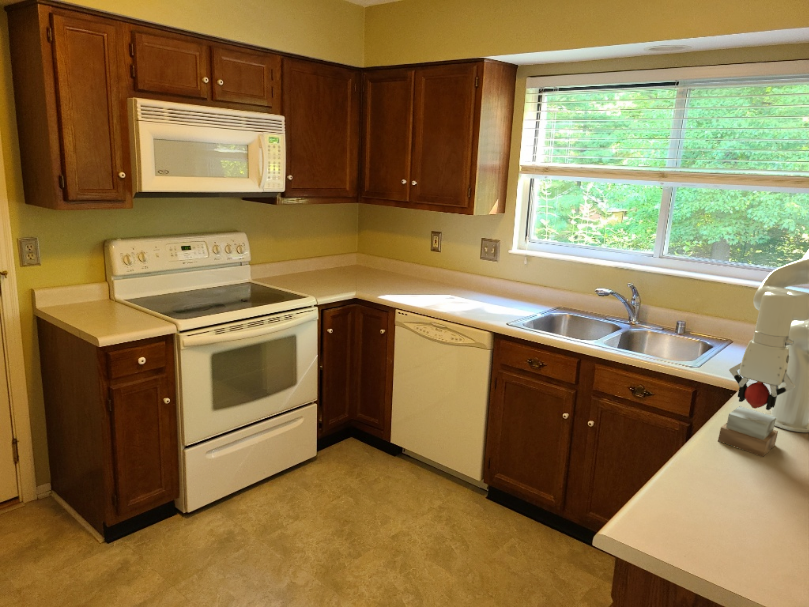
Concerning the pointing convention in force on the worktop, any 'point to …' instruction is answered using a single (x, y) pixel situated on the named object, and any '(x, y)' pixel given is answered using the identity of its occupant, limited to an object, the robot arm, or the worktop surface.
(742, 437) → the wood and metal block
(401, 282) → the worktop surface
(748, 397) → the onion
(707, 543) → the worktop surface
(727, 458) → the worktop surface
